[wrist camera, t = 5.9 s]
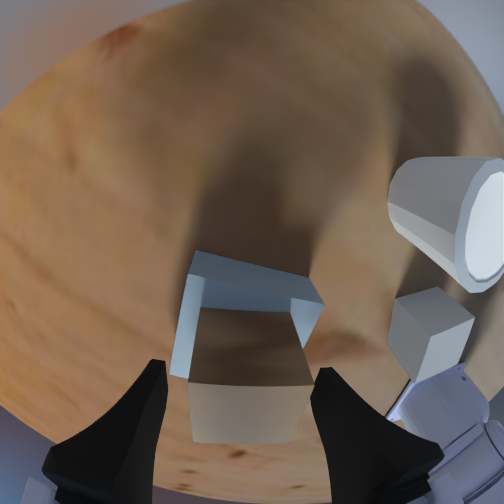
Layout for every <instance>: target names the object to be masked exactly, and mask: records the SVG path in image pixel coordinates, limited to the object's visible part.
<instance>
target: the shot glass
mask: <svg viewBox="0 0 504 504" xmlns="http://www.w3.org/2000/svg"><path fill="white" fill-rule="evenodd" d="M387 204H388V211H389V218H390V220H391V222H392V223H393V225H394V227H395V229H396V231H398V232H399V233H400V234H401V235H403V236H404V237H405V238H407V239H408V240H409V241H410V242H412V243H413V244H414V245H415V246H417V247H418V248H419V249H420V250H421V251H423V252H424V253H425V254H426V255H427V256H429V257H430V258H431V259H432V260H433V261H435V262H436V263H437V264H438V265H439V266H440V267H441V268H443V269H444V270H445V271H446V272H447V273H448V274H449V275H450V276H452V277H453V278H454V279H455V280H456V281H457V282H458V283H459V284H460V285H461V286H463V287H464V288H465V289H466V290H467V291H468V292H469V293H477V292H484V291H485V290H487V289H488V288H489V287H491V286H492V285H494V284H495V283H496V282H497V281H498V280H499V278H500V277H501V276H502V275H503V273H504V160H503V159H501V158H495V157H419V158H414V159H410V160H407V161H406V162H405V163H404V164H403V165H402V166H400V167H399V168H398V169H397V171H396V173H395V175H394V177H393V179H392V181H391V182H390V185H389V192H388V198H387Z"/></svg>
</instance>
